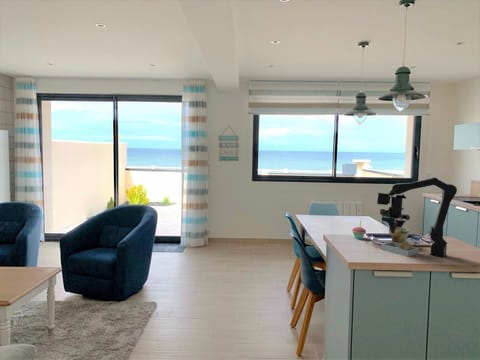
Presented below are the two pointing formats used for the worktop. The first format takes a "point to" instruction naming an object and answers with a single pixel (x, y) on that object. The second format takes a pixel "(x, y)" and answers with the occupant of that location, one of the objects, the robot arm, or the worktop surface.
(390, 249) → the tray
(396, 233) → the block
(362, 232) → the cupcake
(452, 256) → the worktop surface
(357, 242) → the worktop surface
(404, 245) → the block
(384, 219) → the robot arm
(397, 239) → the ceramic cup
